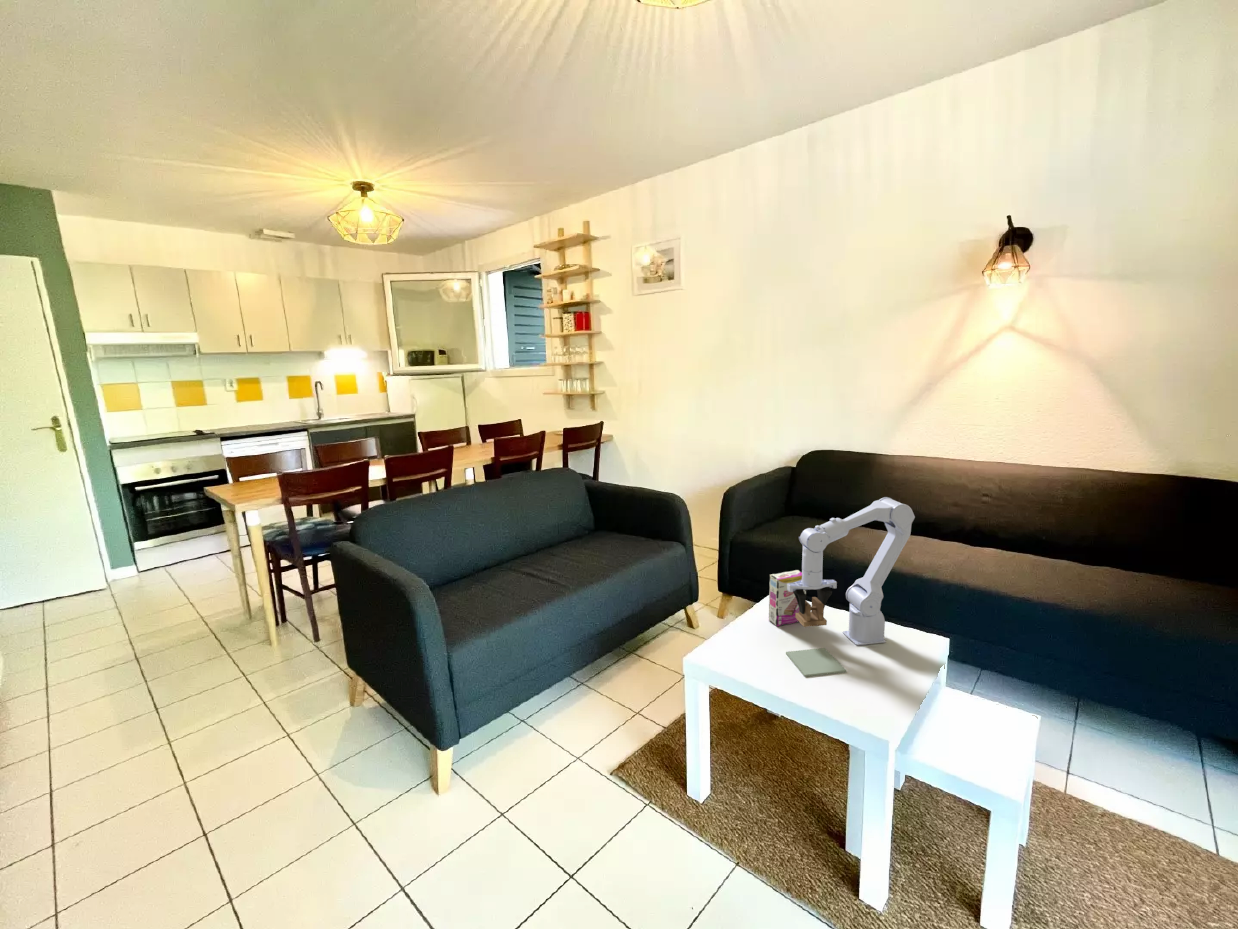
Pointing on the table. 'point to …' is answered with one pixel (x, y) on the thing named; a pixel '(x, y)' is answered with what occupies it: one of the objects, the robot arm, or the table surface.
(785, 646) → the table surface
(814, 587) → the robot arm
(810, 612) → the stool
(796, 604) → the candy bar box
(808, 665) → the mat
